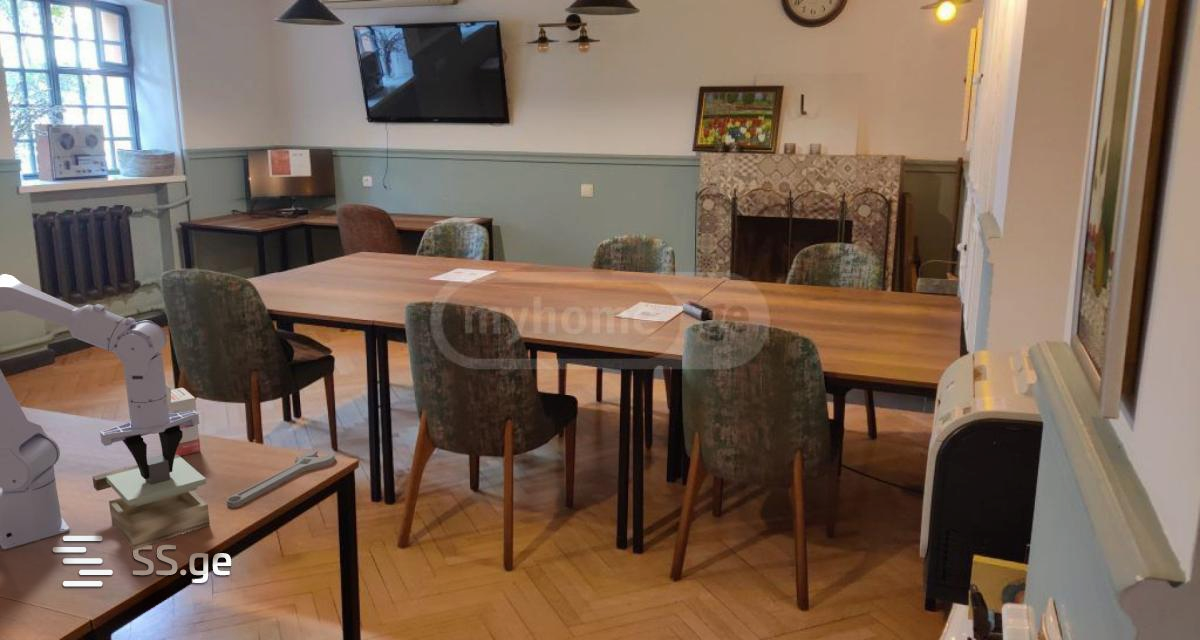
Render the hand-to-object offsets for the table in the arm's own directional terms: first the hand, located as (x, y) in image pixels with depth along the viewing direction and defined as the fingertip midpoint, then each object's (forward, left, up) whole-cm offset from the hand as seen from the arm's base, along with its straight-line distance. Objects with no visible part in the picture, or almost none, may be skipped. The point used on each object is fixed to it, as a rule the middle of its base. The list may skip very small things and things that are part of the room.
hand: (156, 473), depth 144 cm
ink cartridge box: (+14, +32, -10) cm, 37 cm away
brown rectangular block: (0, +11, -5) cm, 12 cm away
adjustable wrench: (+23, +6, -10) cm, 26 cm away
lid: (0, +1, -3) cm, 3 cm away
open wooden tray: (0, +1, -10) cm, 10 cm away
